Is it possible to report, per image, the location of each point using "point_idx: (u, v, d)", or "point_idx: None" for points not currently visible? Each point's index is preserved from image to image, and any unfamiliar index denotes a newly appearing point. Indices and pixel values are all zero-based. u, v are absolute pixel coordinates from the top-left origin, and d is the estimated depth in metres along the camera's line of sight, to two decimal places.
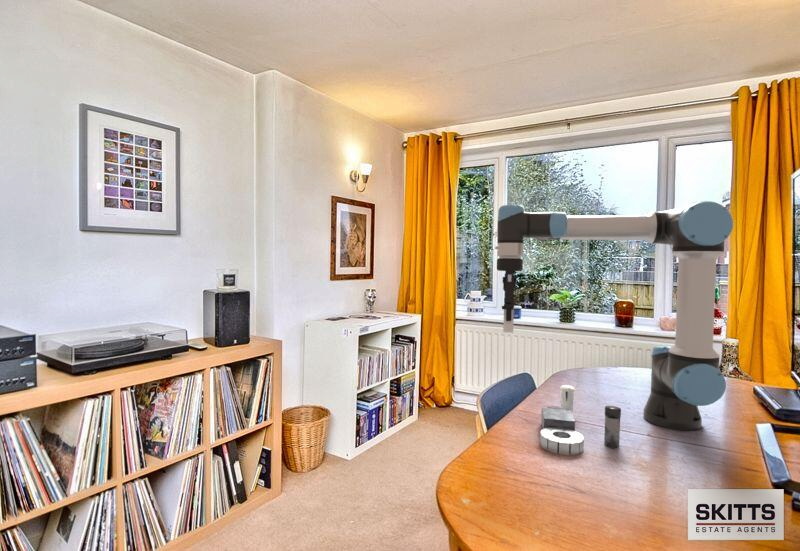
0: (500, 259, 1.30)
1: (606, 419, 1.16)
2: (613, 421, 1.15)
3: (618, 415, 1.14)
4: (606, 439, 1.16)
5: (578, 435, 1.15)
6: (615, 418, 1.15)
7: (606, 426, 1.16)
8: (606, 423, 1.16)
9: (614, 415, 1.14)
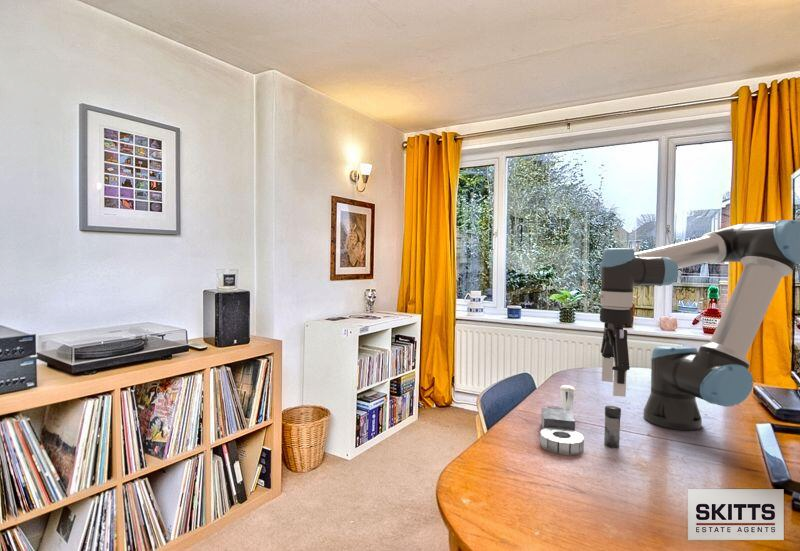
0: (606, 310, 1.14)
1: (606, 419, 1.16)
2: (613, 421, 1.15)
3: (618, 415, 1.14)
4: (606, 439, 1.16)
5: (578, 435, 1.15)
6: (615, 418, 1.15)
7: (606, 426, 1.16)
8: (606, 423, 1.16)
9: (614, 415, 1.14)
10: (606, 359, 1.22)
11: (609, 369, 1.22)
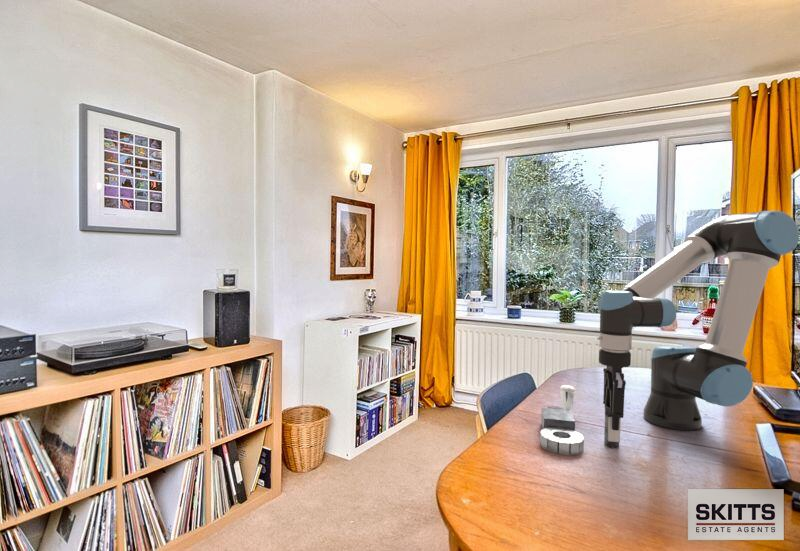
0: (605, 353, 1.14)
1: (606, 419, 1.16)
2: None
3: None
4: (606, 439, 1.16)
5: (578, 435, 1.15)
6: None
7: (606, 426, 1.16)
8: (606, 423, 1.16)
9: None
10: None
11: None
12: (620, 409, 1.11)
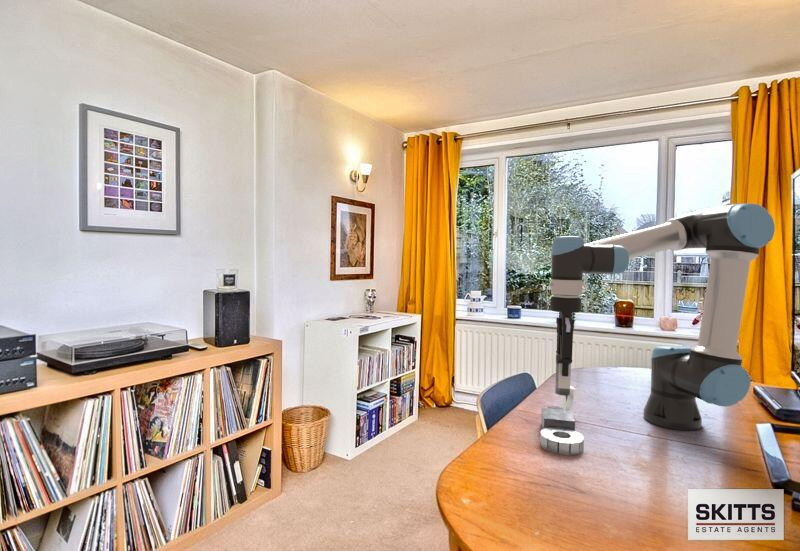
0: (555, 298, 1.13)
1: (557, 366, 1.15)
2: None
3: None
4: (556, 386, 1.15)
5: (578, 435, 1.15)
6: None
7: (557, 373, 1.15)
8: (557, 370, 1.15)
9: None
10: None
11: None
12: (569, 354, 1.09)
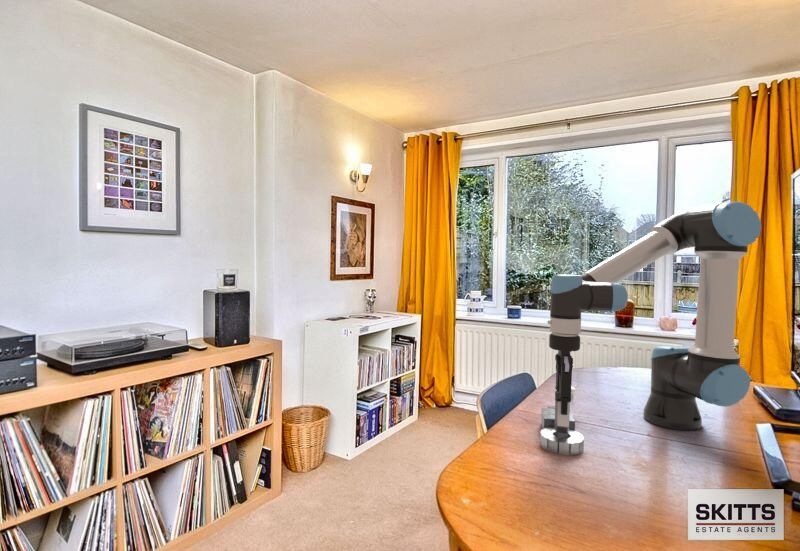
0: (554, 337, 1.13)
1: (556, 404, 1.15)
2: None
3: None
4: (556, 424, 1.15)
5: (578, 435, 1.15)
6: None
7: (556, 411, 1.15)
8: (556, 408, 1.15)
9: None
10: None
11: None
12: (567, 393, 1.10)
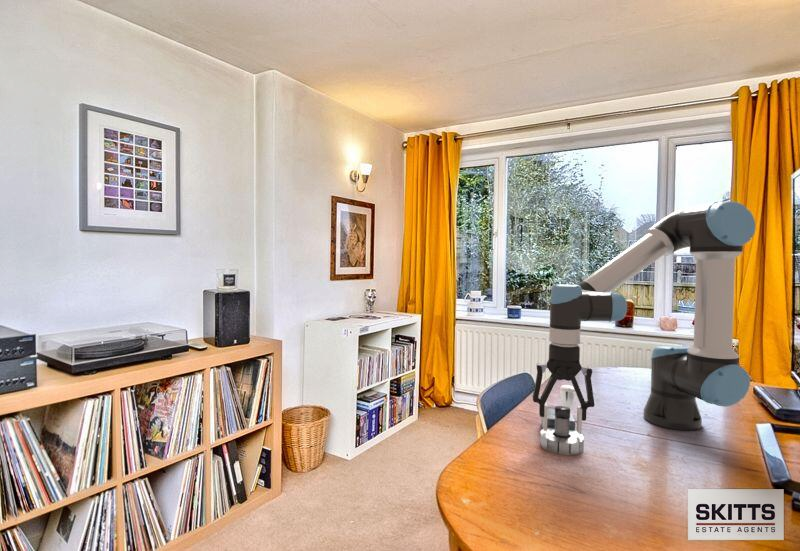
0: None
1: None
2: None
3: (556, 414, 1.15)
4: None
5: (578, 435, 1.15)
6: (555, 416, 1.16)
7: None
8: None
9: None
10: (577, 408, 1.15)
11: (578, 419, 1.14)
12: (534, 392, 1.16)
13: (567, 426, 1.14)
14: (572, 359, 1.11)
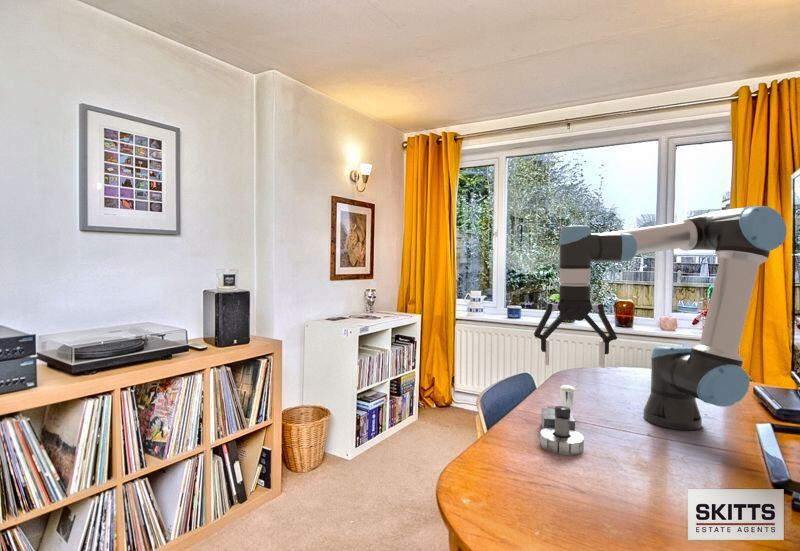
0: None
1: None
2: (555, 418, 1.16)
3: (556, 414, 1.15)
4: None
5: (578, 435, 1.15)
6: (555, 416, 1.16)
7: None
8: None
9: (555, 412, 1.16)
10: (600, 342, 1.15)
11: (600, 353, 1.14)
12: (537, 328, 1.18)
13: (567, 426, 1.14)
14: (583, 298, 1.12)
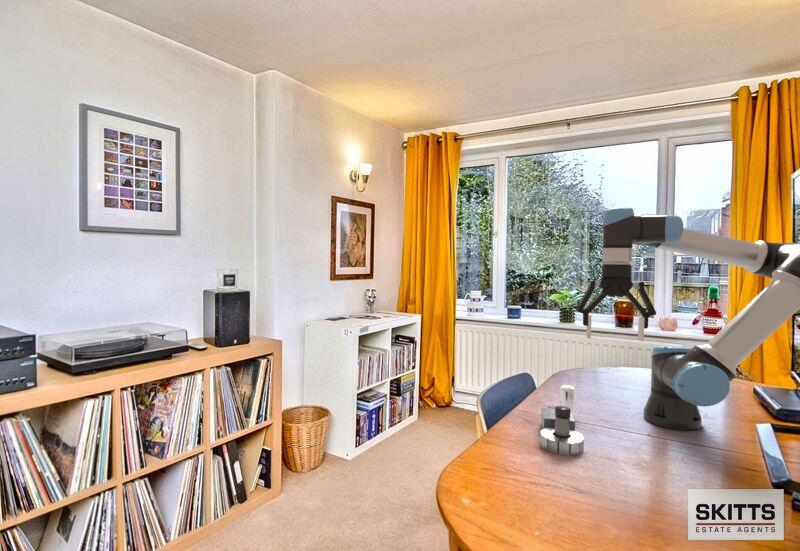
0: None
1: None
2: (555, 418, 1.16)
3: (556, 414, 1.15)
4: None
5: (578, 435, 1.15)
6: (555, 415, 1.16)
7: None
8: None
9: (555, 412, 1.16)
10: (639, 317, 1.23)
11: (640, 327, 1.23)
12: (580, 303, 1.26)
13: (567, 426, 1.14)
14: (625, 275, 1.20)
